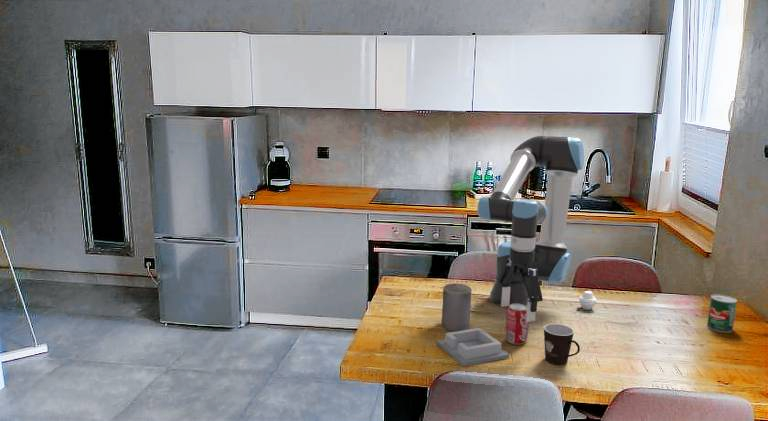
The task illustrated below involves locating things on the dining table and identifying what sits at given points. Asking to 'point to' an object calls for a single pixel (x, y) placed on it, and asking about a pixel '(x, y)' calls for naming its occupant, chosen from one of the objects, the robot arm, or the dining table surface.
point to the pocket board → (472, 347)
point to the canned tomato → (721, 313)
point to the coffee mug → (558, 343)
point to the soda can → (516, 324)
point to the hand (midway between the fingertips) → (517, 313)
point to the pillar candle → (456, 307)
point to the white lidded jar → (587, 300)
